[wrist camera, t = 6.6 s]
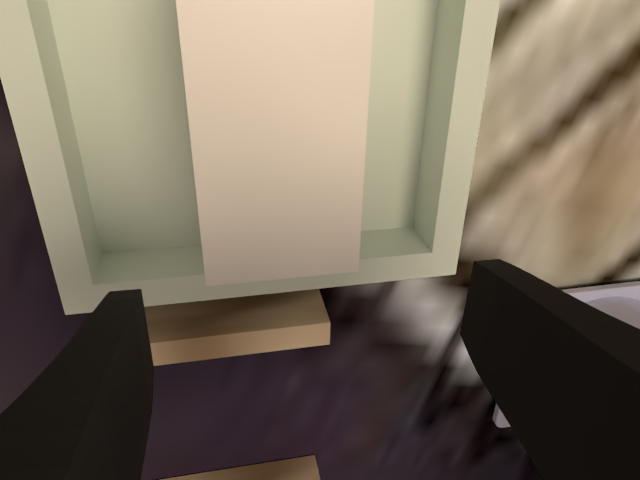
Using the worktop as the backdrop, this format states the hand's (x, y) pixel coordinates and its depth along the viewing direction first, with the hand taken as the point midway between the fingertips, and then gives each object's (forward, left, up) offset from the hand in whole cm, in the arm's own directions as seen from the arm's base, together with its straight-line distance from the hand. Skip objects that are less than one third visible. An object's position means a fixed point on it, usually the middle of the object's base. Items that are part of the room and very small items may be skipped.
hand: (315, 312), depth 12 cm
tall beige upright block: (0, -3, -8) cm, 8 cm away
